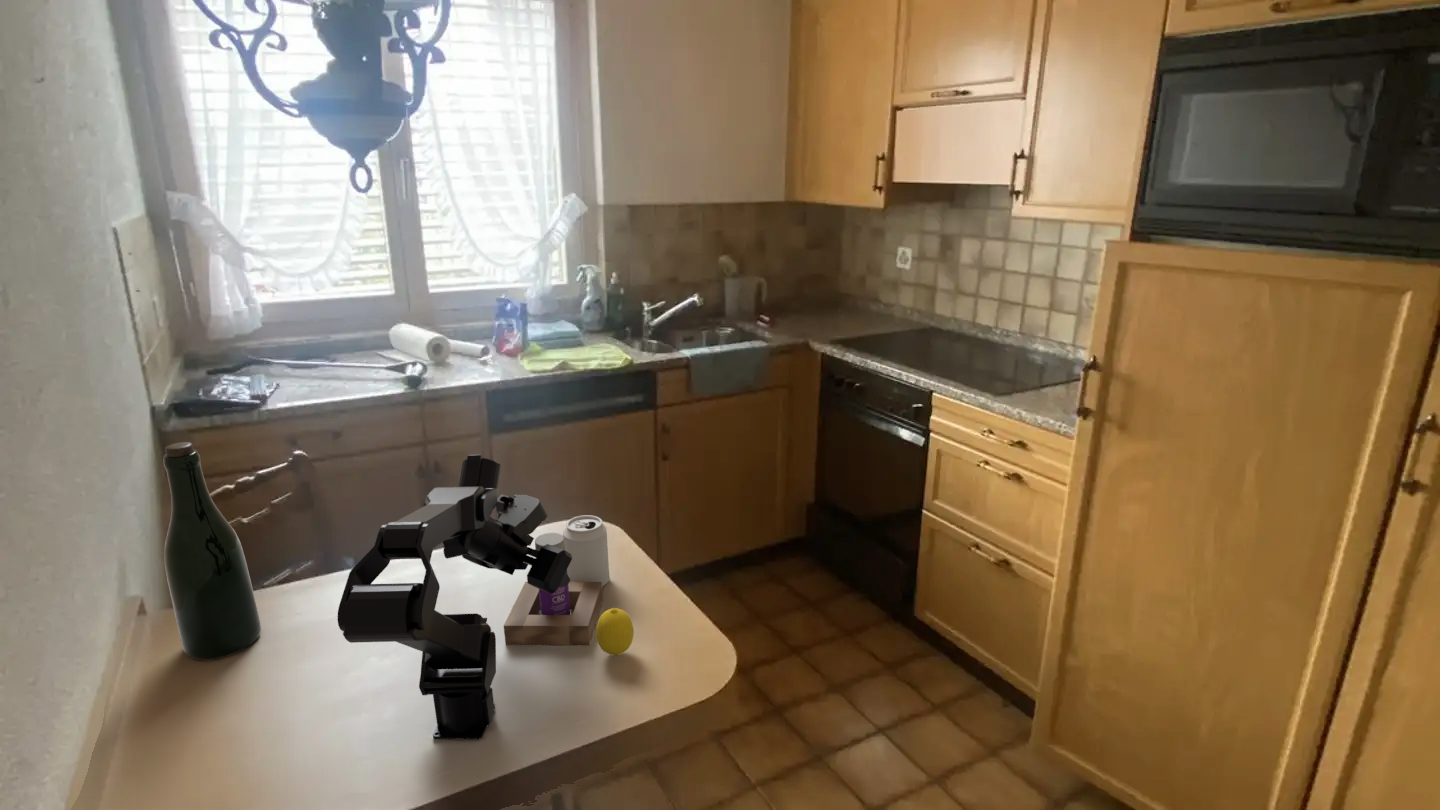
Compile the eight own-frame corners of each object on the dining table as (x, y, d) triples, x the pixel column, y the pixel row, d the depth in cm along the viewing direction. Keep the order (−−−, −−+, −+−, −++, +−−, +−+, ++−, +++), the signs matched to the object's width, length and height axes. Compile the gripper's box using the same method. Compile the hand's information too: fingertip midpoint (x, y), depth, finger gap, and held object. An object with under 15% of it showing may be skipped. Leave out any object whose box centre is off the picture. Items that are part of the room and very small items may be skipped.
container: (557, 634, 125) (549, 549, 120) (535, 625, 127) (527, 541, 122) (577, 619, 128) (570, 536, 124) (555, 611, 131) (548, 529, 126)
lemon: (628, 668, 116) (625, 620, 114) (592, 663, 117) (589, 617, 115) (639, 646, 121) (637, 600, 119) (605, 642, 122) (602, 597, 120)
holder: (505, 645, 122) (503, 625, 121) (527, 599, 134) (525, 581, 133) (589, 645, 122) (588, 625, 120) (603, 600, 134) (601, 581, 133)
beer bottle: (261, 650, 121) (217, 449, 111) (180, 670, 117) (127, 463, 107) (263, 616, 130) (223, 428, 120) (188, 634, 126) (140, 439, 116)
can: (606, 594, 136) (602, 531, 132) (563, 594, 136) (558, 531, 132) (612, 572, 143) (609, 512, 139) (571, 572, 143) (566, 512, 139)
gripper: (557, 501, 110) (614, 542, 122) (469, 474, 120) (529, 514, 132) (519, 575, 106) (581, 610, 118) (431, 541, 116) (497, 576, 128)
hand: (546, 574), depth 124 cm, fingers open, 9 cm apart
